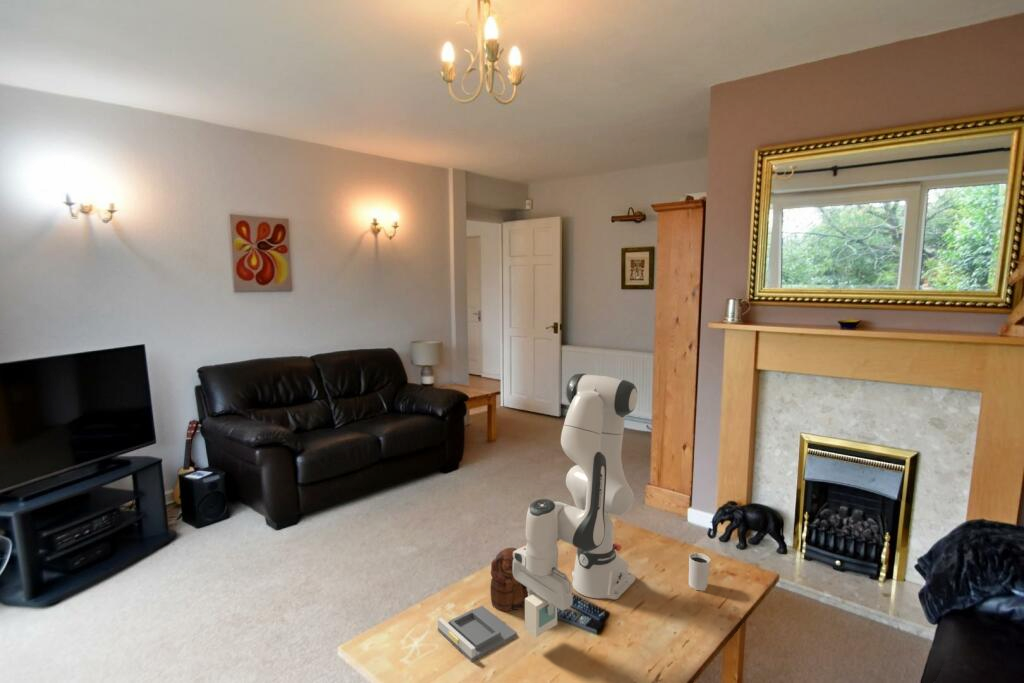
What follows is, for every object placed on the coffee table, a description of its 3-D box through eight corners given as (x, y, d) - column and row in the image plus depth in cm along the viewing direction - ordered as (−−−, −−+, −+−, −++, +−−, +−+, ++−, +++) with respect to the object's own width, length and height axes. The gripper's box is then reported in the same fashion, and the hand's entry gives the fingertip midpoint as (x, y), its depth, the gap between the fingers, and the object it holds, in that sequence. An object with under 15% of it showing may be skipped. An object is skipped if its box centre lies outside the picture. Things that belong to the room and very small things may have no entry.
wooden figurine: (495, 614, 157) (496, 558, 155) (489, 602, 163) (490, 547, 161) (531, 607, 161) (533, 551, 159) (524, 595, 167) (525, 541, 165)
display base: (482, 608, 160) (482, 597, 160) (516, 635, 148) (517, 624, 148) (436, 631, 149) (436, 619, 149) (470, 662, 137) (470, 650, 137)
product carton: (524, 629, 143) (524, 598, 142) (545, 616, 149) (545, 586, 147) (536, 637, 140) (536, 606, 139) (557, 624, 145) (557, 594, 144)
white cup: (701, 594, 170) (703, 565, 169) (683, 585, 175) (685, 557, 174) (712, 587, 174) (714, 558, 173) (693, 578, 179) (695, 550, 178)
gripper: (578, 572, 136) (577, 621, 138) (525, 542, 151) (525, 586, 153) (561, 582, 132) (560, 632, 134) (508, 549, 147) (508, 595, 149)
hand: (541, 607), depth 144 cm, fingers closed on product carton, 5 cm apart
